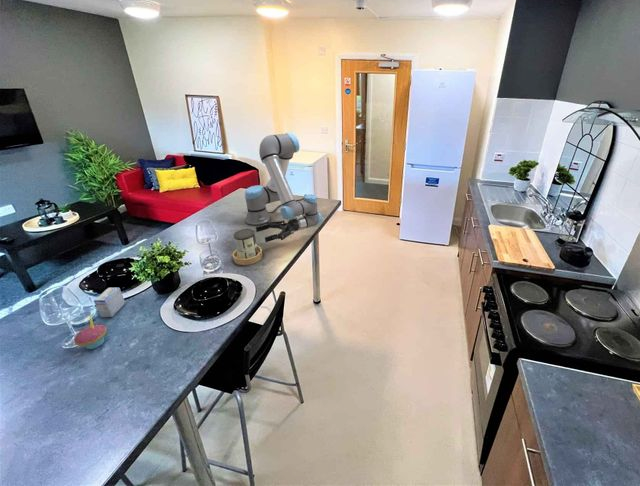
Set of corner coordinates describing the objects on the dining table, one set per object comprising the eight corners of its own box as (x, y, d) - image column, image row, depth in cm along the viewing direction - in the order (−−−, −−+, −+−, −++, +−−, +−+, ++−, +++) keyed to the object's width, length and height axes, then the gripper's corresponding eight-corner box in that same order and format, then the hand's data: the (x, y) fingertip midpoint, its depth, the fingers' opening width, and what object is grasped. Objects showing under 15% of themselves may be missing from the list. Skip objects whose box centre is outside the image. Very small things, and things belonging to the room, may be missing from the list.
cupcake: (106, 330, 109) (94, 306, 104) (114, 341, 104) (102, 316, 99) (76, 346, 102) (62, 321, 97) (83, 358, 98) (69, 333, 93)
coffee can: (246, 249, 161) (242, 227, 155) (262, 253, 158) (258, 230, 152) (233, 259, 152) (228, 236, 146) (249, 263, 149) (245, 239, 143)
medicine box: (115, 303, 122) (107, 287, 118) (126, 303, 122) (119, 286, 118) (100, 317, 114) (92, 300, 111) (112, 317, 115) (105, 300, 111)
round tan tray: (245, 248, 163) (244, 242, 162) (267, 252, 160) (267, 247, 158) (227, 262, 151) (226, 256, 149) (251, 267, 147) (250, 261, 146)
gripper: (307, 238, 160) (270, 250, 148) (288, 222, 178) (253, 231, 166) (306, 226, 157) (268, 238, 145) (287, 211, 175) (251, 220, 163)
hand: (260, 234), depth 155 cm, fingers open, 13 cm apart
